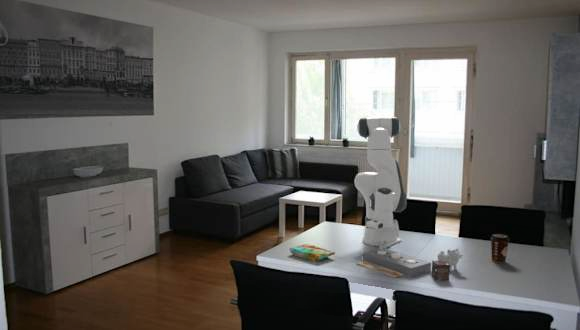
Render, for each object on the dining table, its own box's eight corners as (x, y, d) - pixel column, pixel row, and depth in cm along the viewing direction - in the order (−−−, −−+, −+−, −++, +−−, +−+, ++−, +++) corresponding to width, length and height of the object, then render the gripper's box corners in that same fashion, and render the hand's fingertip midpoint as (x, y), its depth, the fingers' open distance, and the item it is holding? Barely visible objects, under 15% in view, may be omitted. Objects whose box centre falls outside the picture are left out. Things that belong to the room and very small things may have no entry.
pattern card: (365, 261, 249) (365, 260, 249) (403, 275, 230) (404, 273, 230) (356, 264, 245) (356, 262, 245) (394, 278, 226) (395, 276, 226)
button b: (395, 258, 247) (395, 252, 246) (402, 260, 243) (402, 254, 243) (389, 259, 244) (389, 253, 244) (396, 262, 241) (396, 256, 240)
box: (431, 276, 229) (431, 260, 228) (444, 276, 230) (444, 260, 229) (436, 281, 223) (436, 264, 222) (449, 280, 224) (450, 264, 223)
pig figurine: (456, 273, 233) (457, 251, 232) (435, 266, 244) (436, 244, 242) (464, 272, 236) (465, 249, 234) (443, 264, 246) (444, 243, 245)
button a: (381, 256, 254) (381, 250, 254) (388, 258, 251) (388, 252, 250) (375, 257, 251) (375, 251, 251) (381, 259, 248) (382, 253, 248)
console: (382, 255, 260) (382, 247, 260) (430, 270, 236) (431, 262, 236) (362, 260, 252) (362, 252, 251) (410, 276, 228) (411, 268, 228)
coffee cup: (507, 259, 255) (509, 234, 253) (508, 264, 247) (510, 238, 246) (488, 258, 258) (490, 232, 256) (489, 262, 250) (491, 236, 248)
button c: (409, 265, 240) (410, 259, 239) (417, 267, 236) (417, 261, 236) (403, 267, 237) (403, 260, 237) (411, 269, 234) (411, 263, 233)
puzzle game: (305, 242, 267) (335, 250, 253) (305, 250, 267) (334, 259, 254) (289, 246, 259) (319, 254, 245) (289, 255, 259) (319, 264, 245)
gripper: (392, 217, 258) (391, 244, 260) (364, 223, 245) (363, 251, 247) (402, 220, 253) (401, 247, 255) (374, 226, 240) (373, 254, 242)
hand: (382, 249), depth 251 cm, fingers closed
